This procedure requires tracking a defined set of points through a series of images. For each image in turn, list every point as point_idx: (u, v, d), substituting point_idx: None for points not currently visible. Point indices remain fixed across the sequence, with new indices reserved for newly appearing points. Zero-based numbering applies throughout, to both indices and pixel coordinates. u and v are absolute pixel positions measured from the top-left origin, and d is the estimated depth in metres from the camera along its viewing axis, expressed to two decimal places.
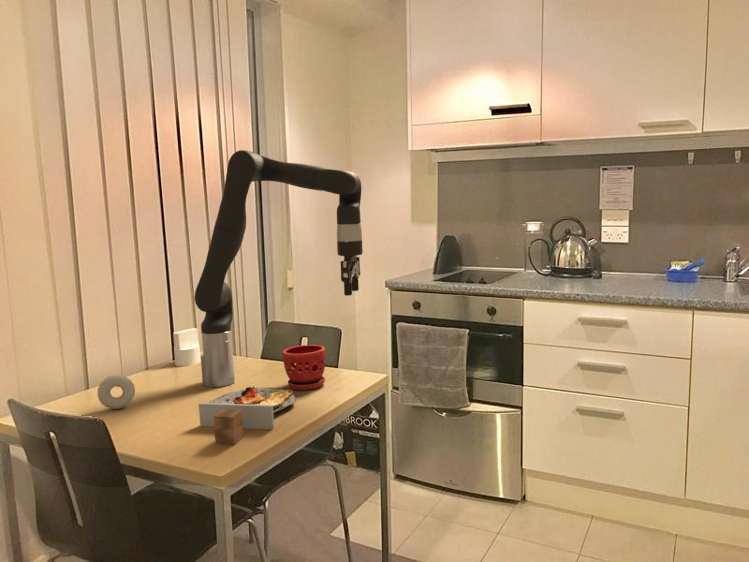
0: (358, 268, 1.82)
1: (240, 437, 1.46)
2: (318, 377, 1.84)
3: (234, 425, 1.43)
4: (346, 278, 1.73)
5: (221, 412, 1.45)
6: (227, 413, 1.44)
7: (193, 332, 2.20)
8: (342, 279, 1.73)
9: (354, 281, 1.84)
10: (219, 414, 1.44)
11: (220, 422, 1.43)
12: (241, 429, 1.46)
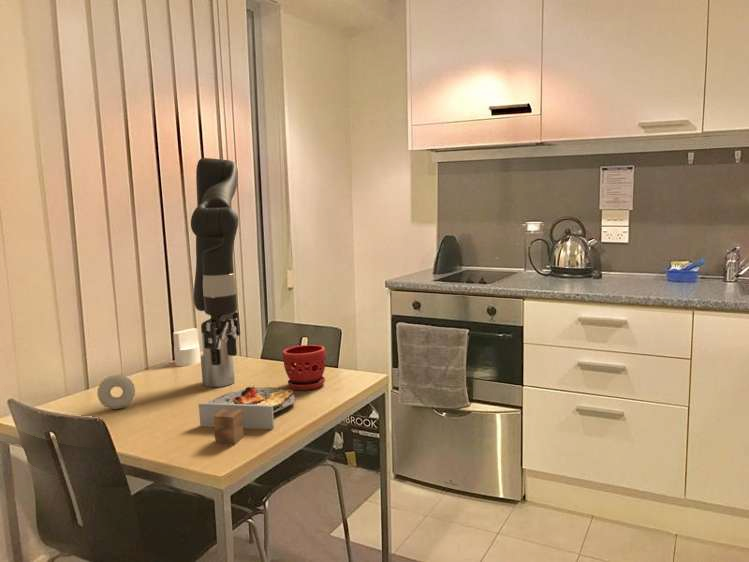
0: (234, 328, 1.45)
1: (240, 437, 1.46)
2: (318, 377, 1.84)
3: (234, 425, 1.43)
4: (211, 344, 1.36)
5: (221, 412, 1.45)
6: (227, 413, 1.44)
7: (193, 332, 2.20)
8: (206, 346, 1.36)
9: (231, 343, 1.46)
10: (219, 414, 1.44)
11: (220, 422, 1.43)
12: (241, 429, 1.46)
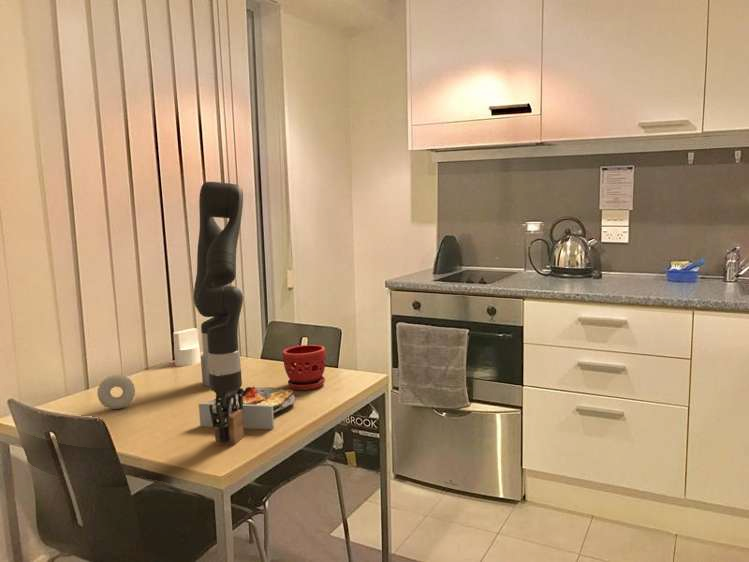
0: (238, 404, 1.46)
1: (240, 437, 1.46)
2: (318, 377, 1.84)
3: (234, 425, 1.43)
4: (219, 424, 1.40)
5: None
6: None
7: (193, 332, 2.20)
8: (214, 426, 1.40)
9: None
10: None
11: None
12: (241, 429, 1.46)
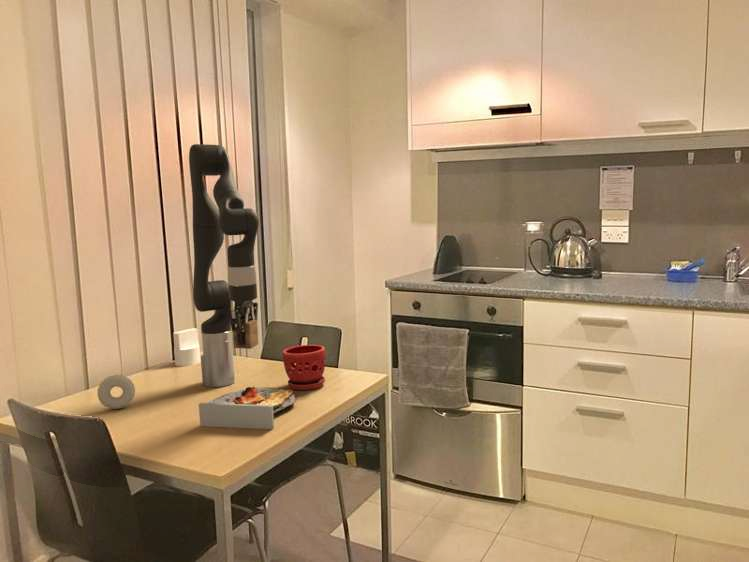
0: (253, 315, 1.66)
1: (255, 343, 1.66)
2: (318, 377, 1.84)
3: (250, 331, 1.63)
4: (237, 328, 1.59)
5: None
6: None
7: (193, 332, 2.20)
8: (233, 330, 1.60)
9: None
10: None
11: None
12: (256, 336, 1.66)
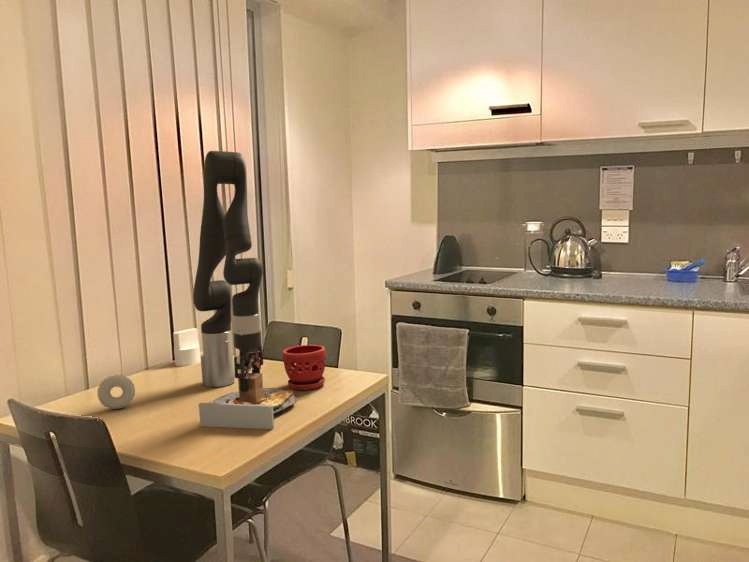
0: (258, 359, 1.70)
1: (261, 396, 1.69)
2: (318, 377, 1.84)
3: (256, 385, 1.65)
4: (240, 375, 1.61)
5: None
6: (250, 376, 1.67)
7: (193, 332, 2.20)
8: (236, 376, 1.61)
9: (255, 372, 1.71)
10: None
11: None
12: (261, 390, 1.69)
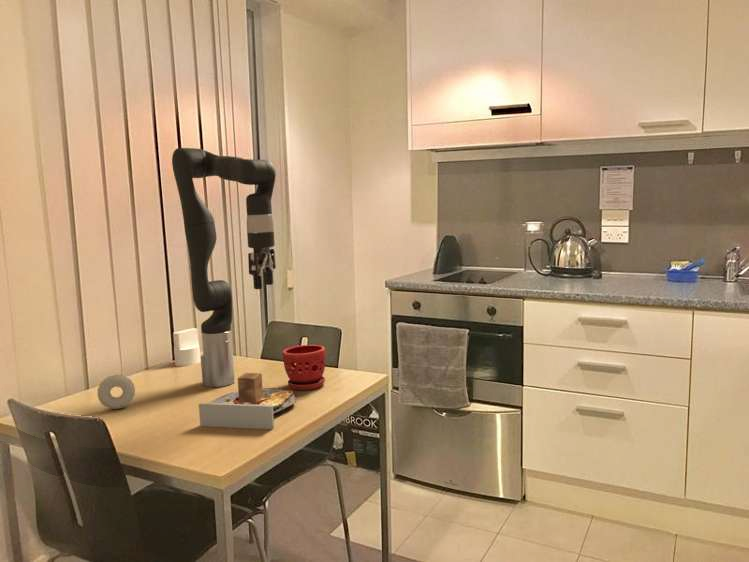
0: (271, 261, 1.74)
1: (260, 397, 1.68)
2: (318, 377, 1.84)
3: (255, 386, 1.65)
4: (254, 271, 1.65)
5: (244, 375, 1.68)
6: (249, 376, 1.67)
7: (193, 332, 2.20)
8: (250, 272, 1.65)
9: (268, 274, 1.76)
10: (242, 376, 1.67)
11: (243, 383, 1.65)
12: (261, 390, 1.69)
